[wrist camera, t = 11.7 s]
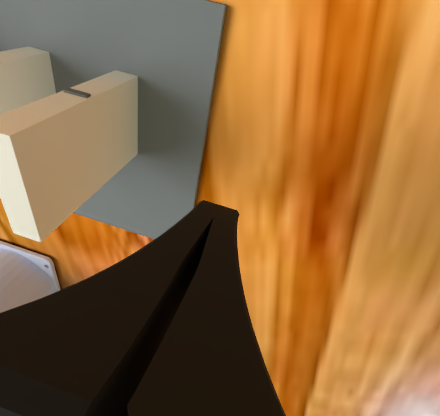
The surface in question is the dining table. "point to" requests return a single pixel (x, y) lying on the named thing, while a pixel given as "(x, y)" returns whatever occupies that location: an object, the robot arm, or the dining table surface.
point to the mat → (147, 90)
